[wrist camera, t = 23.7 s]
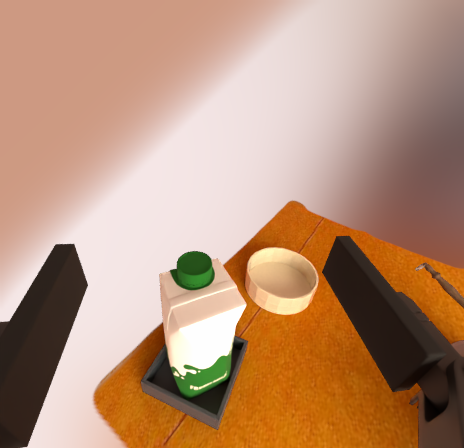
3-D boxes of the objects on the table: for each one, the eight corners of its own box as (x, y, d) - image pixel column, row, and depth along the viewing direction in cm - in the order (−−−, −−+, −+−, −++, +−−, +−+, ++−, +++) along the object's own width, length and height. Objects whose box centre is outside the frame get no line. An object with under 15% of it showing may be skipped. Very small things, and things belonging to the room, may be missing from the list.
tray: (142, 391, 37) (140, 381, 35) (184, 325, 46) (183, 314, 44) (217, 430, 34) (219, 421, 32) (245, 351, 43) (248, 340, 41)
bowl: (235, 298, 51) (237, 283, 49) (255, 255, 62) (258, 240, 60) (307, 325, 48) (313, 310, 45) (315, 274, 59) (321, 259, 56)
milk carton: (213, 332, 44) (221, 241, 33) (238, 385, 38) (258, 294, 27) (162, 353, 41) (150, 258, 29) (179, 414, 34) (173, 324, 23)
